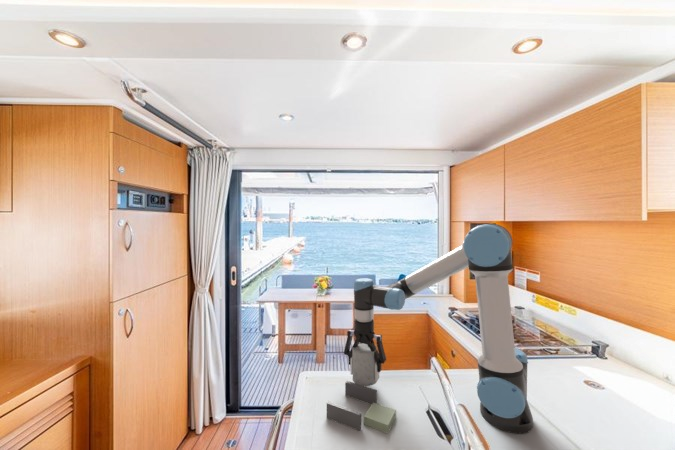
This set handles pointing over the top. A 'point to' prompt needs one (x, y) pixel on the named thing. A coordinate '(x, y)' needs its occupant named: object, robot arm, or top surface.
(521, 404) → the robot arm
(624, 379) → the top surface
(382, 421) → the block
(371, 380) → the grey cylindrical piece
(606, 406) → the top surface
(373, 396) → the parallel grey rails
